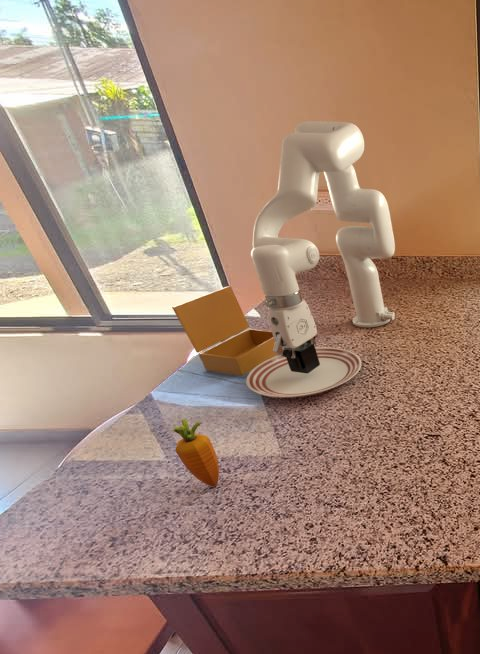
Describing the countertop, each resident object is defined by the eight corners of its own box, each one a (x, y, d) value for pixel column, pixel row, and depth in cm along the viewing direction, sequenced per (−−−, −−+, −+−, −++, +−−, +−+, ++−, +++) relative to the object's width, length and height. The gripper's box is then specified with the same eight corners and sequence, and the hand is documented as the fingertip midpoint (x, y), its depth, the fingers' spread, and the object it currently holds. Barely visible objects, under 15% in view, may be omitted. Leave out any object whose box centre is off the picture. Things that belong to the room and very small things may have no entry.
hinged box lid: (230, 285, 120) (215, 286, 122) (174, 307, 106) (157, 307, 107) (249, 327, 127) (234, 326, 128) (198, 352, 112) (182, 352, 114)
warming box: (289, 349, 128) (283, 332, 125) (243, 377, 114) (236, 359, 111) (255, 345, 130) (249, 328, 127) (206, 372, 116) (198, 353, 113)
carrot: (208, 477, 82) (174, 414, 74) (235, 476, 82) (204, 413, 74) (193, 496, 78) (155, 432, 70) (221, 495, 78) (187, 431, 70)
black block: (320, 364, 114) (313, 343, 110) (307, 373, 110) (300, 351, 106) (303, 362, 115) (297, 341, 111) (291, 371, 110) (283, 349, 107)
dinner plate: (339, 346, 130) (336, 337, 129) (380, 380, 114) (378, 369, 112) (237, 377, 114) (233, 366, 112) (269, 421, 97) (264, 409, 96)
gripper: (271, 313, 94) (294, 382, 104) (320, 289, 108) (337, 351, 118) (242, 310, 95) (268, 378, 105) (295, 286, 110) (313, 348, 119)
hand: (304, 363), depth 111 cm, fingers open, 5 cm apart
